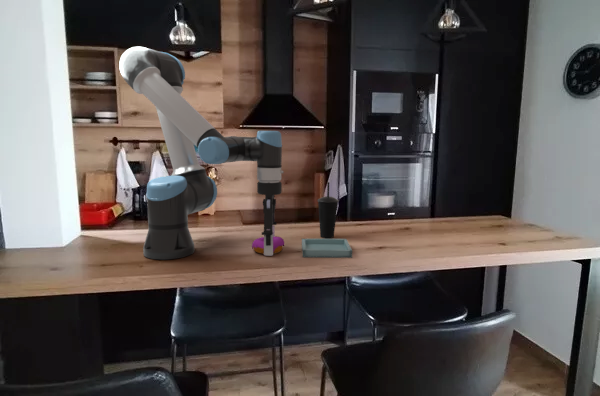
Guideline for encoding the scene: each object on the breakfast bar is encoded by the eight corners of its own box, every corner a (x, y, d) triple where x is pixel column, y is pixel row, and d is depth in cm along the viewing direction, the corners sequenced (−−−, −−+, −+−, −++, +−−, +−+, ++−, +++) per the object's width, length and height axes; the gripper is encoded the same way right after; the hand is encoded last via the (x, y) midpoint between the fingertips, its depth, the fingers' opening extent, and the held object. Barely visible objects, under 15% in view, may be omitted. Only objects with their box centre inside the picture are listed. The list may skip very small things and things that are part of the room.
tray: (302, 257, 127) (303, 250, 127) (301, 244, 141) (301, 238, 141) (352, 257, 128) (352, 250, 127) (346, 245, 141) (346, 238, 141)
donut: (272, 245, 140) (272, 232, 139) (291, 252, 132) (291, 238, 132) (246, 250, 133) (245, 236, 133) (264, 258, 126) (264, 243, 125)
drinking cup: (336, 240, 148) (337, 184, 144) (315, 238, 149) (316, 183, 146) (338, 235, 155) (340, 181, 152) (318, 233, 157) (319, 180, 153)
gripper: (280, 186, 118) (280, 261, 121) (282, 177, 141) (282, 240, 144) (253, 186, 118) (254, 261, 121) (260, 176, 141) (260, 240, 144)
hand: (269, 249), depth 133 cm, fingers closed on donut, 11 cm apart
